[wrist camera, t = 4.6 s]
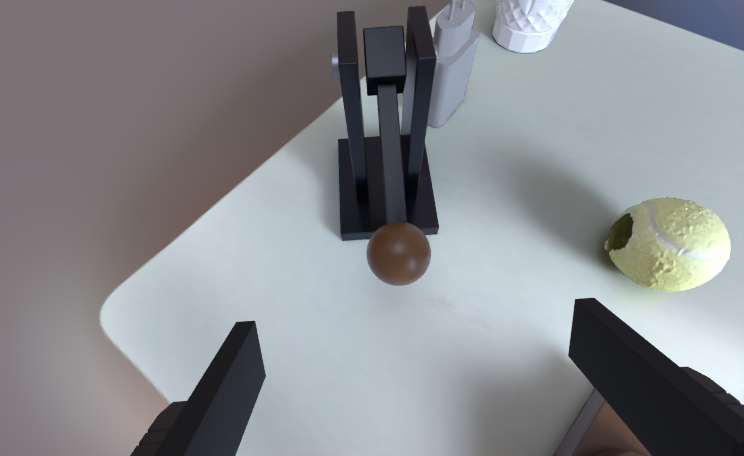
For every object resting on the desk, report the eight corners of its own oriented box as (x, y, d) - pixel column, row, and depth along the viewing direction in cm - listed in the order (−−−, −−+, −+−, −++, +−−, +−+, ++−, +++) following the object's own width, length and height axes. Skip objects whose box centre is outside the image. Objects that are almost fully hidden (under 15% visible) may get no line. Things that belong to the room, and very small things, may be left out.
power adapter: (466, 97, 37) (499, -31, 26) (438, 130, 35) (461, 6, 24) (440, 85, 38) (462, -44, 27) (411, 116, 36) (423, -9, 25)
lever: (427, 279, 22) (438, 287, 18) (369, 283, 22) (368, 292, 18) (410, 53, 22) (417, 16, 19) (353, 57, 22) (349, 21, 19)
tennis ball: (686, 246, 28) (766, 203, 22) (673, 320, 26) (759, 294, 20) (604, 214, 30) (657, 166, 24) (583, 280, 27) (638, 245, 21)
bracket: (437, 234, 30) (478, 95, 17) (342, 240, 30) (307, 107, 17) (422, 141, 34) (444, -26, 21) (339, 147, 34) (310, -16, 21)
